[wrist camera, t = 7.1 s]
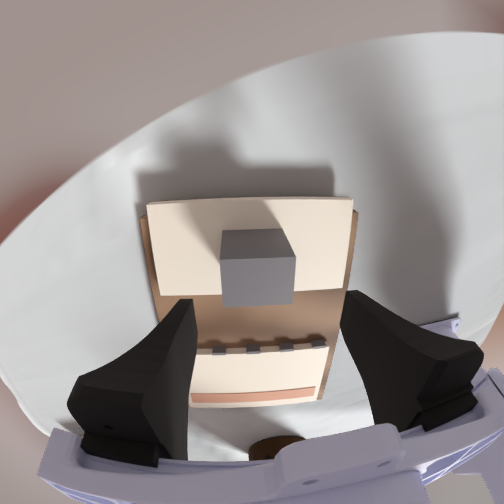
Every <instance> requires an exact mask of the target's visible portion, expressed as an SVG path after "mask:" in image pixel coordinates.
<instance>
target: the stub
mask: <svg viewBox="0 0 504 504" xmlns="http://www.w3.org/2000/svg"><path fill="white" fill-rule="evenodd" d="M353 202H354V200H353V199H351V198H350V197H239V198H212V199H191V200H174V201H160V202H149V203H148V204H147V205H146V206H147V214H148V222H149V230H150V237H151V243H152V250H153V256H154V262H155V268H156V274H157V279H158V285H159V290H160V295H161V296H175V295H221V294H222V301H223V307H247V306H268V305H285V304H293V295H294V291H307V290H322V289H336V288H342V287H343V281H344V274H345V268H346V261H347V254H348V247H349V239H350V231H351V222H352V212H353Z"/></svg>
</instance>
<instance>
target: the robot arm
mask: <svg viewBox="0 0 504 504" xmlns="http://www.w3.org/2000/svg"><path fill="white" fill-rule="evenodd" d="M460 321H461V319H460V317H457V318H453V319H448V320H444V321H440V322H436V323H431V324H427V325H422V326H417V325H415V324H413V323H411V322H409V321H407V320H405V319H403V318H401V317H400V316H398V315H396V314H394V313H393V312H391V311H390V310H388V309H386V308H385V307H383V306H382V305H380V304H379V303H377V302H376V301H374V300H373V299H371V298H370V297H368V296H367V295H365V294H363V293H362V292H360V291H358V290H351V291H346V293H345V298H344V304H343V309H342V314H341V319H340V324H339V325H340V328H341V332H342V335H343V338H344V341H345V343H346V345H347V347H348V350H349V352H350V354H351V356H352V358H353V360H354V362H355V364H356V366H357V369H358V371H359V373H360V375H361V377H362V380H363V382H364V386H365V389H366V392H367V395H368V399H369V402H370V406H371V410H372V414H373V419H374V424H375V425H373V426H369V427H365V428H361V429H357V430H353V431H348V432H344V433H339V434H334V435H329V436H323V437H317V438H311V439H307V440H303V441H299V442H294V443H292V444H290V445H288V446H286V447H284V448H282V449H281V450H280V451H279V453H278V454H277V455H276V456H275V459H271V460H258V461H236V462H207V461H188V454H187V426H188V402H189V391H190V385H191V380H192V374H193V369H194V364H195V358H196V353H197V341H198V330H197V324H196V317H195V310H194V304H193V299H179V300H178V301H177V303H176V304H175V305H174V306H173V308H172V309H171V310H170V311H169V312H168V314H167V315H166V316H165V317H164V318H163V319H162V321H161V322H160V323H159V324H158V325H157V326H156V327H155V328H154V329H153V330H152V331H151V332H150V333H149V334H148V335H147V336H146V337H145V338H144V339H143V340H142V341H140V342H139V343H138V344H137V345H136V346H134V347H133V348H132V349H130V350H129V351H127V352H126V353H124V354H123V355H121V356H120V357H118V358H117V359H115V360H113V361H112V362H110V363H108V364H106V365H104V366H102V367H100V368H98V369H96V370H93V371H91V372H89V373H86V374H84V375H81V376H79V377H78V379H77V381H76V383H75V385H74V387H73V389H72V391H71V394H70V396H69V398H68V401H67V407H68V410H69V411H70V413H71V415H72V416H73V417H74V419H75V420H76V421H77V422H78V424H79V425H80V426H81V427H82V429H83V430H84V431H85V433H84V436H83V438H82V437H81V436H79V435H77V434H74V433H71V432H67V431H64V430H61V429H58V428H53V431H52V433H51V436H50V438H49V441H48V444H47V447H46V450H45V452H44V455H43V458H42V461H41V464H40V467H39V470H38V473H37V475H38V476H39V477H40V478H41V479H43V480H44V481H45V482H47V483H48V484H50V485H51V486H53V487H54V488H55V489H57V490H59V491H60V492H62V493H63V494H65V495H66V496H68V497H70V498H72V499H74V500H77V501H80V502H83V503H86V504H431V502H430V499H429V497H428V494H427V492H426V489H425V487H424V486H425V485H427V484H429V483H431V482H432V481H434V480H436V479H438V478H439V477H441V476H443V475H445V474H447V473H448V472H450V471H451V472H453V473H454V474H458V475H463V474H481V475H482V478H483V479H484V481H485V483H486V486H487V488H488V489H489V492H490V494H491V496H492V498H493V500H494V502H495V504H504V375H503V374H502V373H501V372H500V371H499V369H498V368H494V369H493V368H490V369H489V371H488V372H486V371H485V370H484V369H483V368H482V366H481V364H482V362H483V359H484V353H483V352H482V350H481V349H480V348H479V347H478V345H477V344H476V343H475V342H473V341H467V340H461V339H459V338H458V337H457V336H456V334H455V333H456V331H457V328H458V326H459V324H460Z"/></svg>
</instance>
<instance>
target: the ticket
mask: <svg viewBox="0 0 504 504" xmlns="http://www.w3.org/2000/svg"><path fill="white" fill-rule="evenodd" d="M328 351H329V344H328V342H327V341H324V339H320V340H311V343H304V344H293V343H292V342H289V343H279V346H265V347H260V346H259V345H246V348H226V346H213V347H212V349H197V353H196V358H195V364H194V369H193V374H192V380H191V385H190V391H189V402H188V403H189V406H190V408H240V407H259V406H273V405H284V404H293V403H302V402H310V401H316V399H317V396H318V392H319V388H320V384H321V380H322V376H323V372H324V368H325V364H326V360H327V355H328Z"/></svg>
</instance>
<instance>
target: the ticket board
mask: <svg viewBox="0 0 504 504" xmlns="http://www.w3.org/2000/svg"><path fill="white" fill-rule="evenodd" d="M357 220H358V212H356V211H355V210H354V209H353V212H352V222H351V231H350V239H349V247H348V254H347V261H346V268H345V274H344V281H343V287H342V288H336V289H322V290H307V291H294V295H293V304H285V305H268V306H247V307H223V301H222V294H221V295H175V296H161V295H160V290H159V285H158V279H157V274H156V268H155V262H154V256H153V250H152V243H151V237H150V230H149V222H148V215H143V216H142V217H141V218H140V223H141V230H142V237H143V243H144V249H145V255H146V261H147V267H148V272H149V277H150V282H151V287H152V292H153V297H154V301H155V306H156V310H157V315H158V319H159V323H160V322H161V321H162V319H163V318H164V317H165V316H166V315H167V314H168V312H169V311H170V310H171V309H172V308H173V306H174V305H175V304H176V303H177V301H178V300H179V299H193V304H194V310H195V317H196V324H197V330H198V341H197V349H212V347H213V346H226V348H246V345H259V346H260V347H265V346H279V343H289V342H292V343H293V344H304V343H311V340H320V339H324V341H327V342H328V344H329V351H328V355H327V360H326V364H325V368H324V372H323V376H322V380H321V384H320V388H319V392H318V396H317V399H316V400H318V399H322V396H323V392H324V389H325V385H326V382H327V378H328V374H329V371H330V367H331V363H332V359H333V355H334V351H335V346H336V342H337V338H338V333H339V329H340V325H339V324H340V319H341V314H342V309H343V304H344V298H345V293H346V291H347V288H348V283H349V277H350V271H351V265H352V258H353V251H354V244H355V236H356V228H357ZM188 407H190V406H189V403H188Z"/></svg>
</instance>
